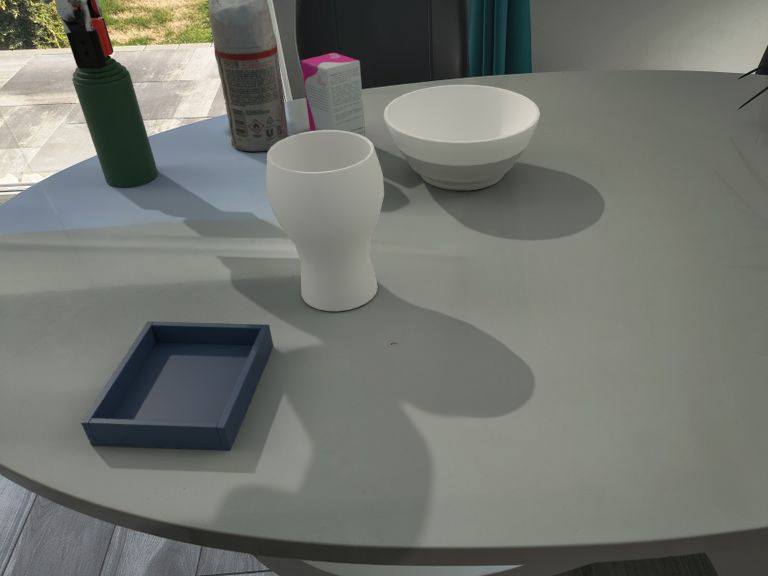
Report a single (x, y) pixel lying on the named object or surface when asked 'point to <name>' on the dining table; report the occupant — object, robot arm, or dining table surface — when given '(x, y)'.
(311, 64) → the supplement box
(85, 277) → the dining table surface
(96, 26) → the cap
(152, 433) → the tray
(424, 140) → the bowl
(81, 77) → the sauce bottle
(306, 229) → the cup
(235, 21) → the spray can
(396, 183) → the dining table surface
